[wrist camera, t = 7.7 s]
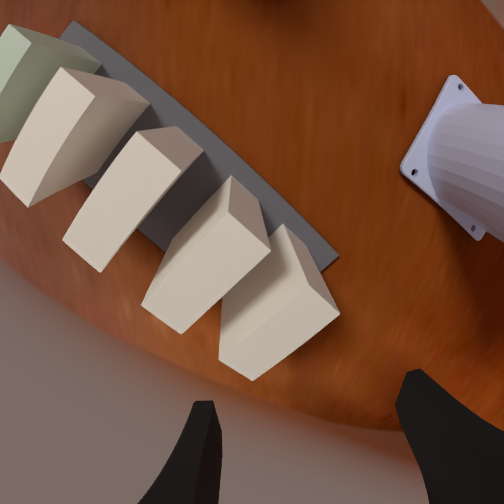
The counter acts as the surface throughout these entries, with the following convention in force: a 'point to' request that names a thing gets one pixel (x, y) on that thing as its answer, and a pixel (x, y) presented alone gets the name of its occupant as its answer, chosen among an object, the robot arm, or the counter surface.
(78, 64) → the pale green rectangular block
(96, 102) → the domino
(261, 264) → the domino
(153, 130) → the domino
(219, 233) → the domino
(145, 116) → the domino mat
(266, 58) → the counter surface
